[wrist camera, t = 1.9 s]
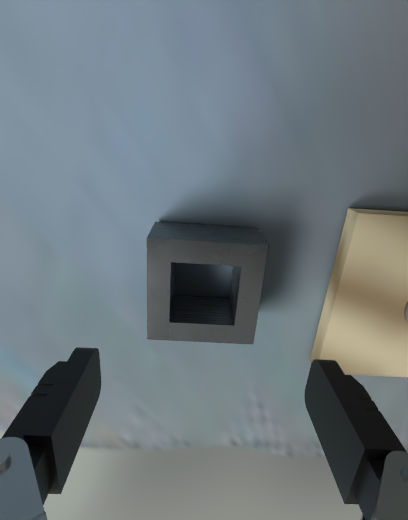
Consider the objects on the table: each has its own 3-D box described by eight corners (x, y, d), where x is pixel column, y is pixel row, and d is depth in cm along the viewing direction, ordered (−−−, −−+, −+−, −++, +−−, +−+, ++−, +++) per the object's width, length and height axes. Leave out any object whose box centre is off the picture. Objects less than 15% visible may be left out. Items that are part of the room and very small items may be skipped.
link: (155, 221, 18) (146, 238, 15) (258, 228, 18) (268, 245, 15) (154, 310, 20) (147, 339, 17) (245, 315, 20) (253, 344, 17)
